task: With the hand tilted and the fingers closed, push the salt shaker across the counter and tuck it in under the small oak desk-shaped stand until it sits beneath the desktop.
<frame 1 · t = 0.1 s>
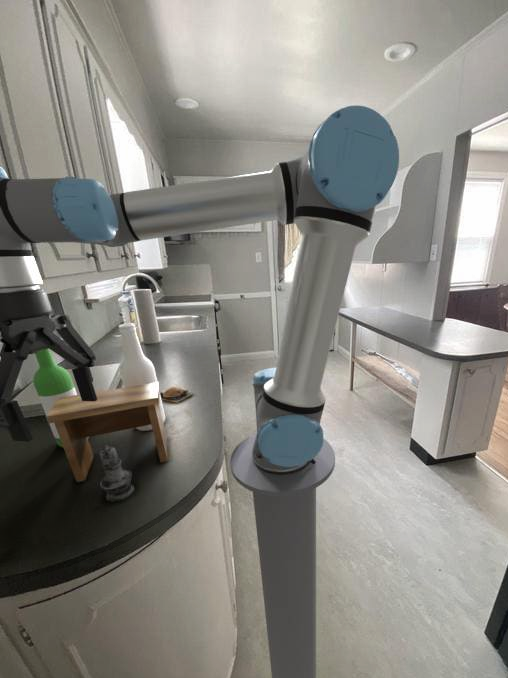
hand: (60, 418, 52), 21 cm above the countertop, tool pointing down, fingers open, 13 cm apart
desk: (126, 459, 75), on the countertop
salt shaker: (120, 493, 64), on the countertop
alcohol: (150, 424, 91), on the countertop
wine bottle: (75, 441, 84), on the countertop
brown sandwich: (175, 397, 109), on the countertop
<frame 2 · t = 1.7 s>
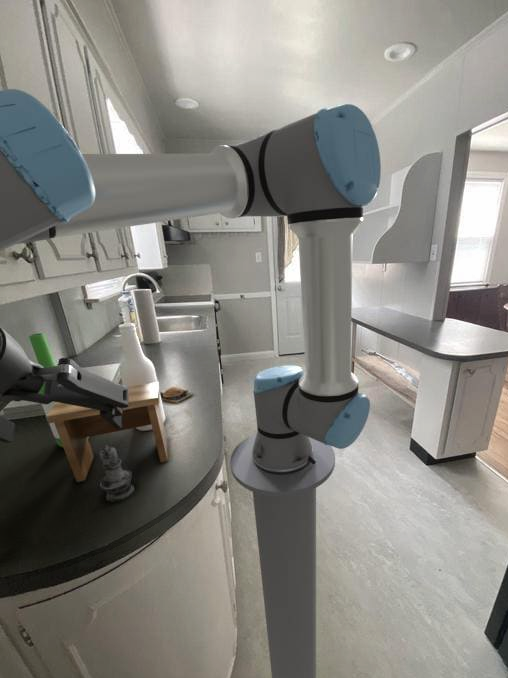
hand: (66, 426, 43), 24 cm above the countertop, tool tilted 45°, fingers open, 13 cm apart
nothing on the countertop moved.
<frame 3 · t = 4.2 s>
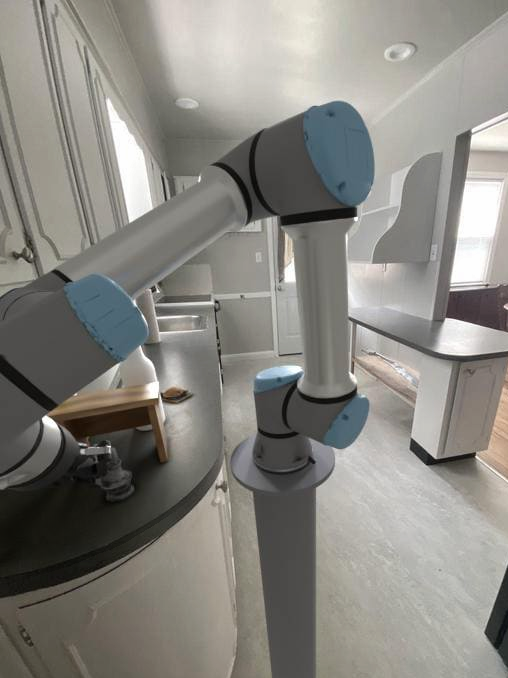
hand: (96, 479, 51), 11 cm above the countertop, tool tilted 45°, fingers closed
nothing on the countertop moved.
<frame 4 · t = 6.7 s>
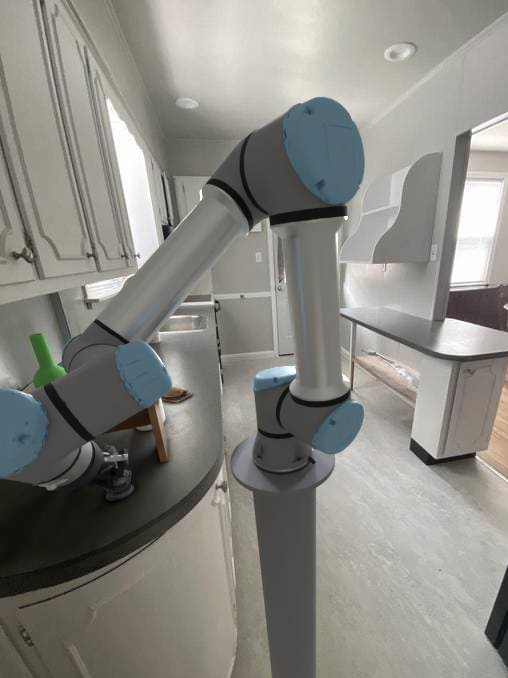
hand: (111, 480, 60), 5 cm above the countertop, tool tilted 45°, fingers closed
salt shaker: (120, 492, 64), on the countertop, touching gripper
everything else where it was.
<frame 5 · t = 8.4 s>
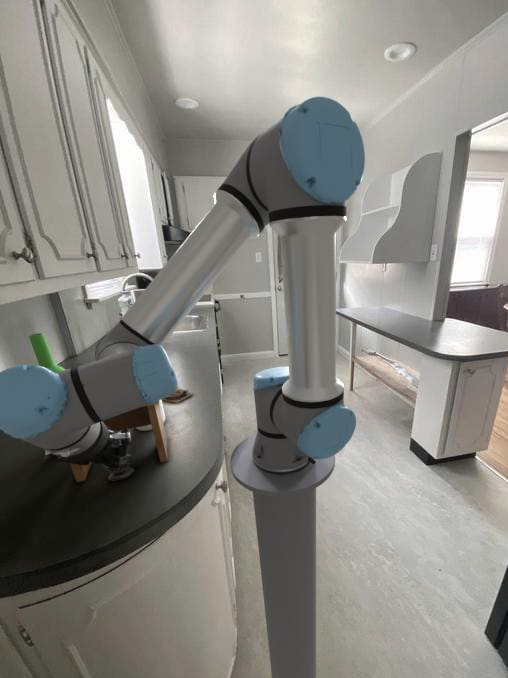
hand: (114, 461, 66), 5 cm above the countertop, tool tilted 45°, fingers closed
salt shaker: (121, 474, 69), on the countertop, touching gripper
everything else where it was.
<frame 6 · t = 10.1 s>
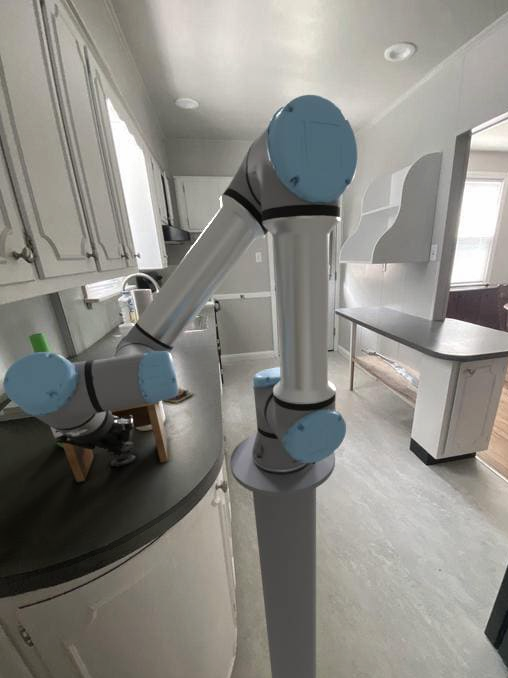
hand: (118, 447, 71), 5 cm above the countertop, tool tilted 45°, fingers closed
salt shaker: (123, 461, 74), on the countertop, touching gripper
everything else where it was.
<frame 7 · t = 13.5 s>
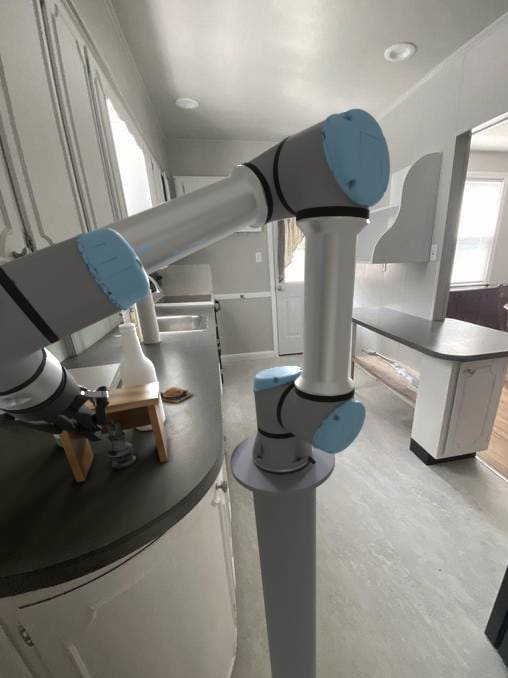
hand: (96, 433, 55), 16 cm above the countertop, tool tilted 45°, fingers closed
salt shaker: (124, 462, 74), on the countertop
everything else where it was.
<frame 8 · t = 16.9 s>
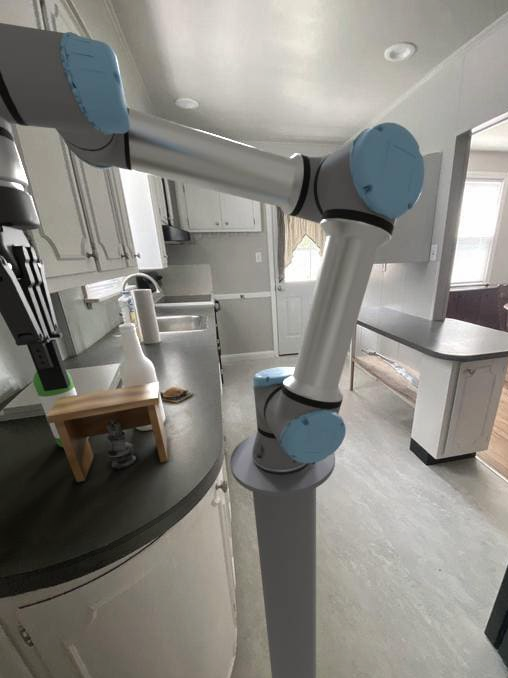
hand: (58, 387, 42), 29 cm above the countertop, tool pointing down, fingers closed
nothing on the countertop moved.
at the end: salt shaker 0.9 cm from the desk (horizontally); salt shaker tilted 0°; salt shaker moved 11.7 cm from its start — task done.
